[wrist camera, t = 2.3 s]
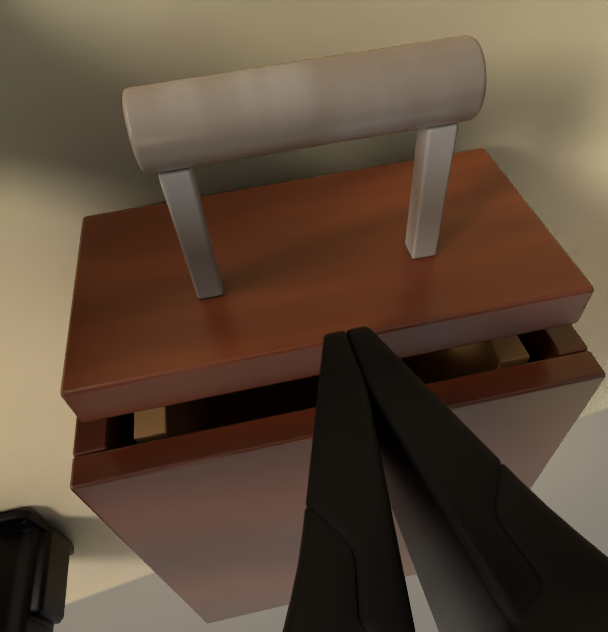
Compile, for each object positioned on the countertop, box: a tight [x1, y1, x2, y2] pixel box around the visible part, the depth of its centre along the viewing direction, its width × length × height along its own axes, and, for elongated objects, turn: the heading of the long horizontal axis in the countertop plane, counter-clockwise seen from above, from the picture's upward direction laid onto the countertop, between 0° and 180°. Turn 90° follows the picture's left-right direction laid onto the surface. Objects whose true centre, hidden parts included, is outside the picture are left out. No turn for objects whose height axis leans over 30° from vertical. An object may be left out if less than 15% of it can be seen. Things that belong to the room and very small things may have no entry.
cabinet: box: [70, 324, 605, 623], centre depth 20 cm, size 15×13×8 cm
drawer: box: [61, 36, 594, 444], centre depth 16 cm, size 18×11×6 cm, turn 4°
